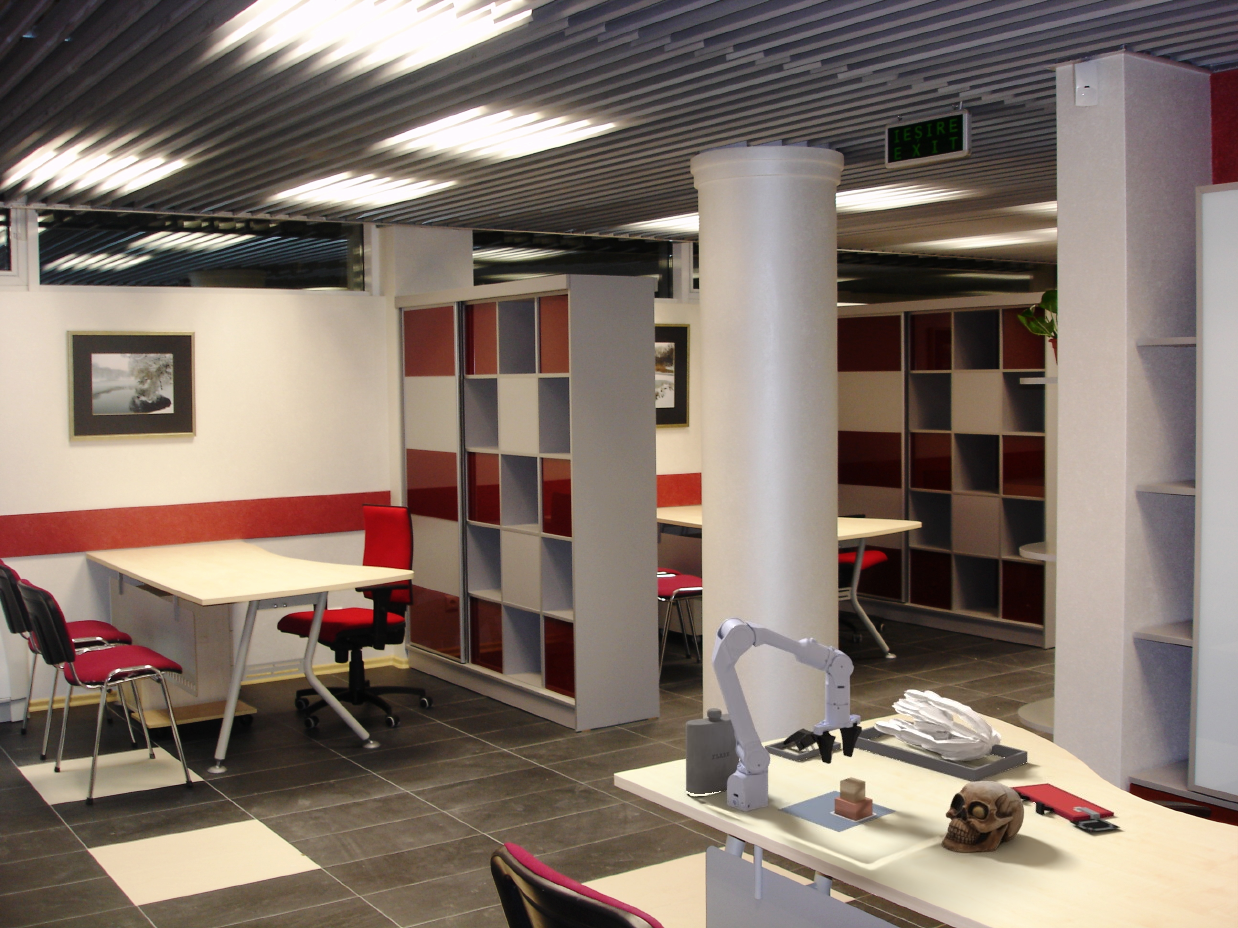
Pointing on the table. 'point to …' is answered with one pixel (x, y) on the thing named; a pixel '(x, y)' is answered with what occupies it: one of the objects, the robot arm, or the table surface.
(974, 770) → the grey tray
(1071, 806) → the red board with handle
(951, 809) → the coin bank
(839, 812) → the base block
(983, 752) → the white sculpture
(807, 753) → the frame
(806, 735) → the power plug
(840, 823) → the board
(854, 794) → the maple cube
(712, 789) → the flask
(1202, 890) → the table surface
